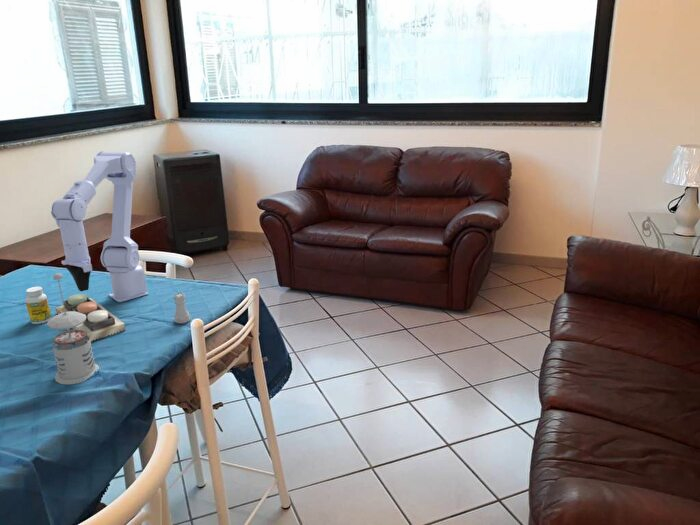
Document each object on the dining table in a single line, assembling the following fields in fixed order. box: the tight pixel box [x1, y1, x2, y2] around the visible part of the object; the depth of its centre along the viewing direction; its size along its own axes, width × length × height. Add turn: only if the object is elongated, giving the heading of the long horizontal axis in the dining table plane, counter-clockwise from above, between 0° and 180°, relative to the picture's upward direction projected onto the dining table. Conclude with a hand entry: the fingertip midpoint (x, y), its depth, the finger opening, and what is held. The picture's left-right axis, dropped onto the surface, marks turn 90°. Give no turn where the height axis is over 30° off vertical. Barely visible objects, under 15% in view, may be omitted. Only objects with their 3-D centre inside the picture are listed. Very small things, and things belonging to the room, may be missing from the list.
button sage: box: [66, 293, 88, 307], centre depth 165 cm, size 5×5×2 cm
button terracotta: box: [77, 302, 98, 314], centre depth 160 cm, size 5×5×2 cm
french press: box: [46, 272, 100, 385], centre depth 131 cm, size 10×12×25 cm
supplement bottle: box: [24, 286, 52, 325], centre depth 161 cm, size 5×5×10 cm
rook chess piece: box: [173, 292, 191, 325], centre depth 159 cm, size 4×4×8 cm
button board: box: [55, 296, 126, 343], centre depth 161 cm, size 10×25×4 cm, turn 43°
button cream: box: [87, 310, 109, 324], centre depth 154 cm, size 5×5×2 cm
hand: (83, 290), depth 158 cm, fingers closed
